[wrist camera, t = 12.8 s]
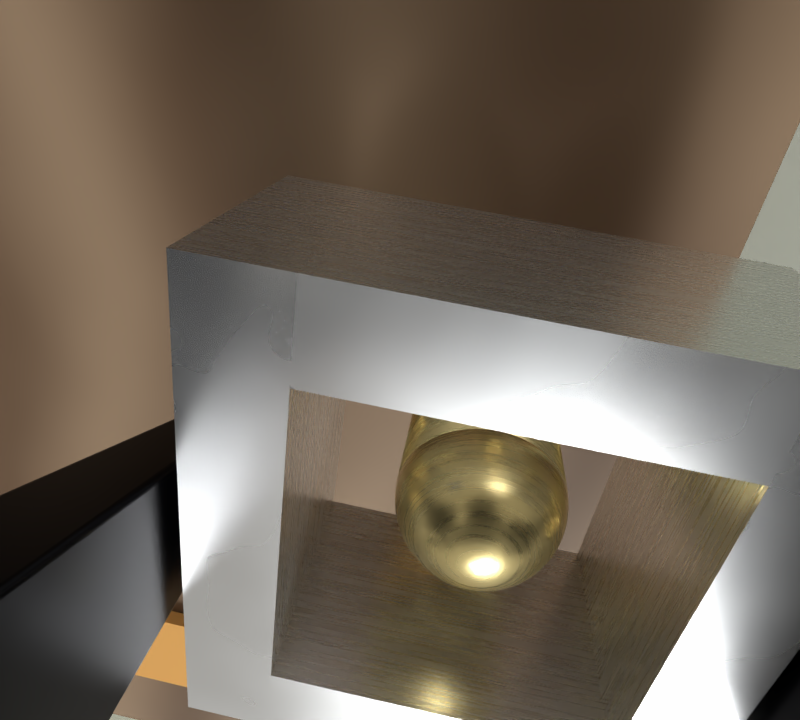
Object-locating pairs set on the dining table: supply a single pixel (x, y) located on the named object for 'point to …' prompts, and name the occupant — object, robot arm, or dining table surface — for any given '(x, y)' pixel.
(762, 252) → the dining table surface
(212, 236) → the silver square frame
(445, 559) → the post
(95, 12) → the board
